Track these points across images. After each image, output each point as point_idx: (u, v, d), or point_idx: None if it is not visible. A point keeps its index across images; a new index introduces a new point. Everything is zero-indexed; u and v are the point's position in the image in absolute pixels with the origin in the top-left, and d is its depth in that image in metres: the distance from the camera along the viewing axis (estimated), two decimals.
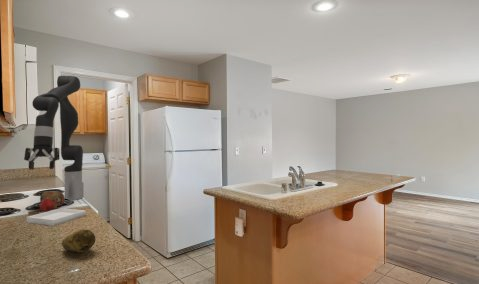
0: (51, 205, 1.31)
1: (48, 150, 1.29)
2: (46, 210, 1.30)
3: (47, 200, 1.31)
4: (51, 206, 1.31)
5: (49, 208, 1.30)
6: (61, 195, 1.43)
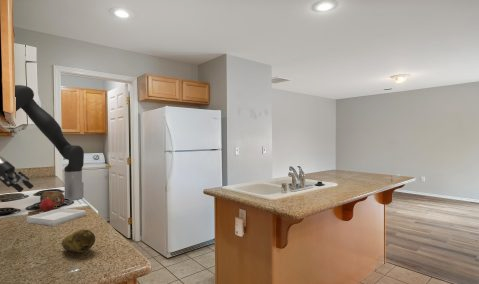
0: (51, 205, 1.31)
1: None
2: (46, 210, 1.30)
3: (47, 200, 1.31)
4: (51, 206, 1.31)
5: (49, 208, 1.30)
6: (61, 195, 1.43)
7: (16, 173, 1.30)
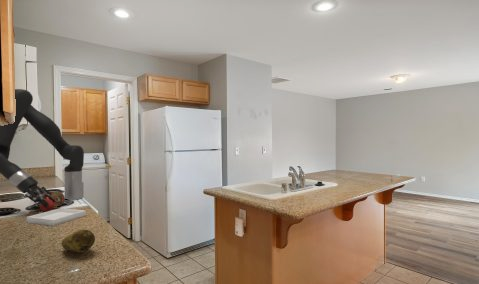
0: (51, 205, 1.31)
1: None
2: (46, 210, 1.30)
3: (47, 200, 1.31)
4: (51, 206, 1.31)
5: (49, 208, 1.30)
6: (61, 195, 1.43)
7: (39, 188, 1.32)
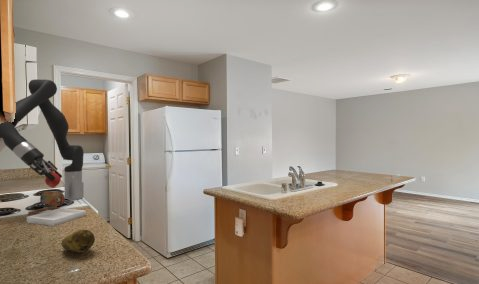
0: (57, 179, 1.22)
1: None
2: (52, 184, 1.21)
3: (53, 174, 1.22)
4: (57, 180, 1.22)
5: (55, 182, 1.21)
6: (61, 195, 1.44)
7: (45, 161, 1.23)
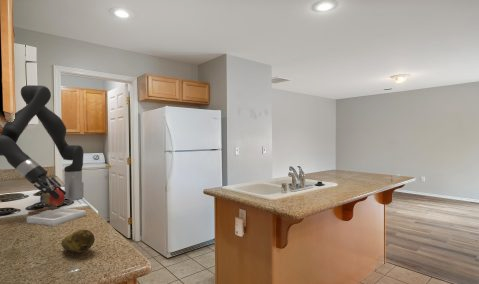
0: (61, 197, 1.21)
1: None
2: (56, 202, 1.20)
3: (57, 191, 1.20)
4: (61, 198, 1.21)
5: (59, 200, 1.20)
6: None
7: (49, 178, 1.21)
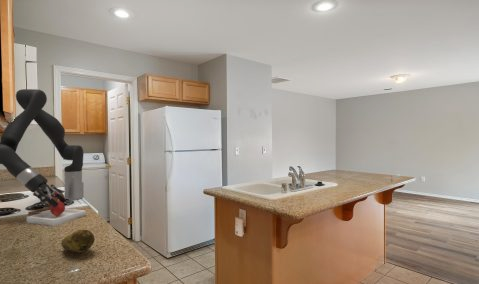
0: (62, 208, 1.21)
1: None
2: (56, 213, 1.20)
3: (58, 202, 1.21)
4: (62, 209, 1.21)
5: (60, 211, 1.20)
6: None
7: (49, 186, 1.21)
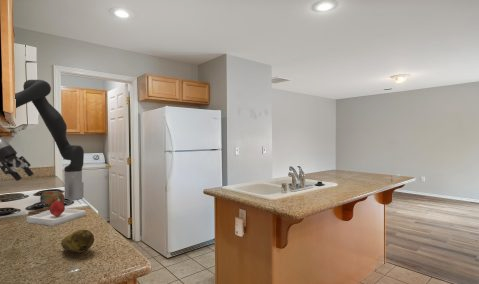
0: (62, 208, 1.21)
1: None
2: (56, 214, 1.20)
3: (58, 203, 1.21)
4: (62, 209, 1.21)
5: (60, 211, 1.20)
6: (61, 195, 1.43)
7: (17, 159, 1.23)
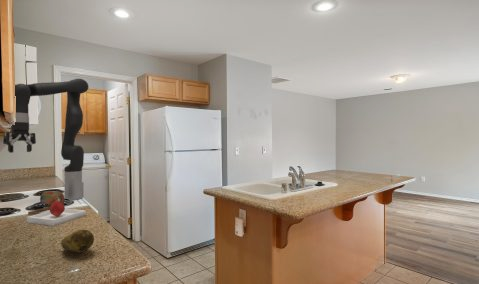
0: (62, 208, 1.21)
1: None
2: (56, 214, 1.20)
3: (57, 203, 1.21)
4: (62, 209, 1.21)
5: (60, 211, 1.20)
6: (61, 195, 1.43)
7: (24, 135, 1.40)
